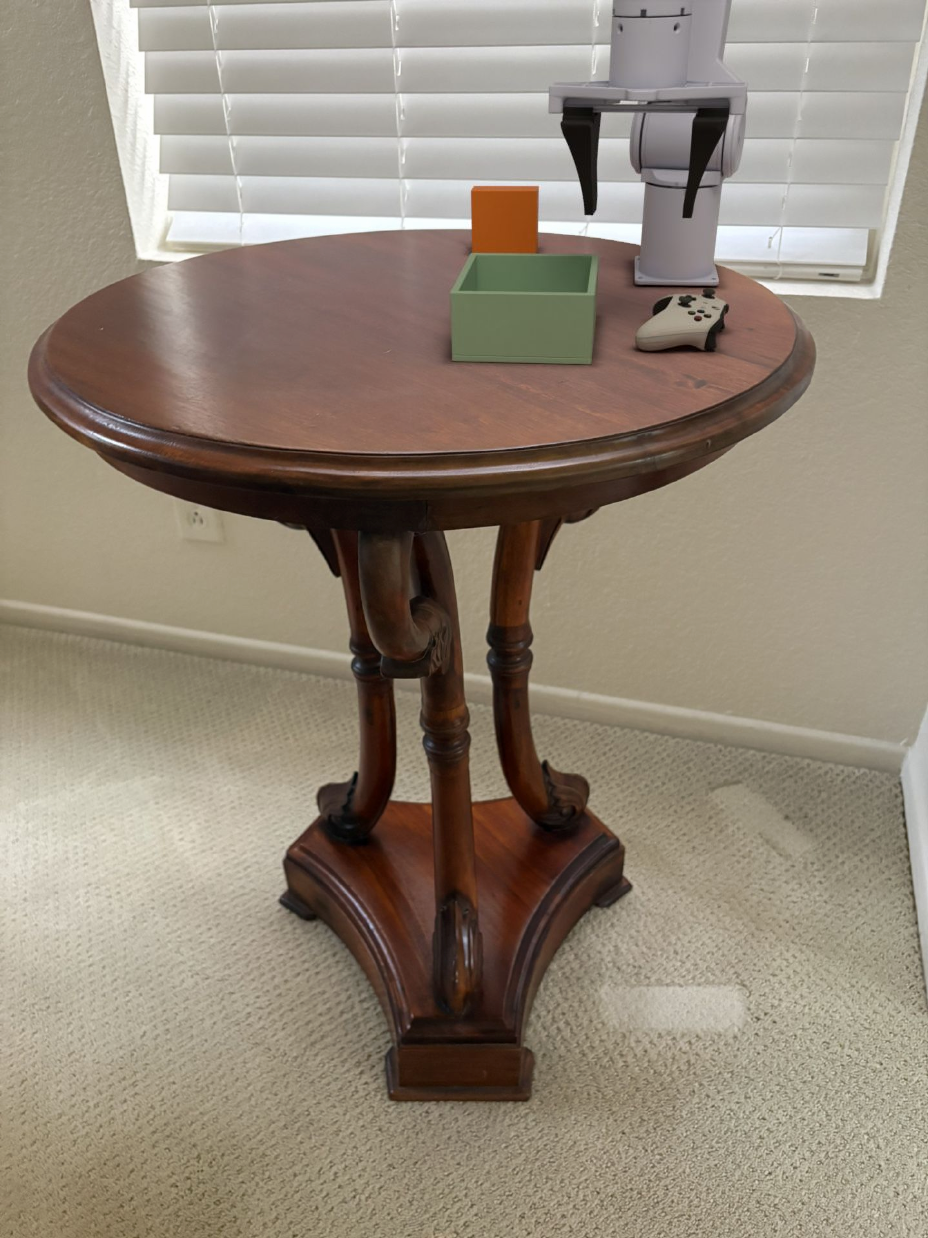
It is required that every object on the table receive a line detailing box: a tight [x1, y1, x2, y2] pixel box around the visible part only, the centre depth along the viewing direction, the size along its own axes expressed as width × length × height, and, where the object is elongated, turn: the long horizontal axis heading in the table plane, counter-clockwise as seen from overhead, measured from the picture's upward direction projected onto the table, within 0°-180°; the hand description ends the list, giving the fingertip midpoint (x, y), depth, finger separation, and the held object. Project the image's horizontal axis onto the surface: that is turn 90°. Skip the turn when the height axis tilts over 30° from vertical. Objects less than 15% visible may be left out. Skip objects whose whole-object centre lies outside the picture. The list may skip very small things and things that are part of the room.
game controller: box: [634, 287, 730, 352], centre depth 84 cm, size 10×5×6 cm
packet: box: [470, 185, 540, 254], centre depth 108 cm, size 2×7×6 cm, turn 82°
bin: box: [449, 252, 600, 365], centre depth 84 cm, size 12×11×6 cm
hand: (638, 213), depth 80 cm, fingers open, 7 cm apart
